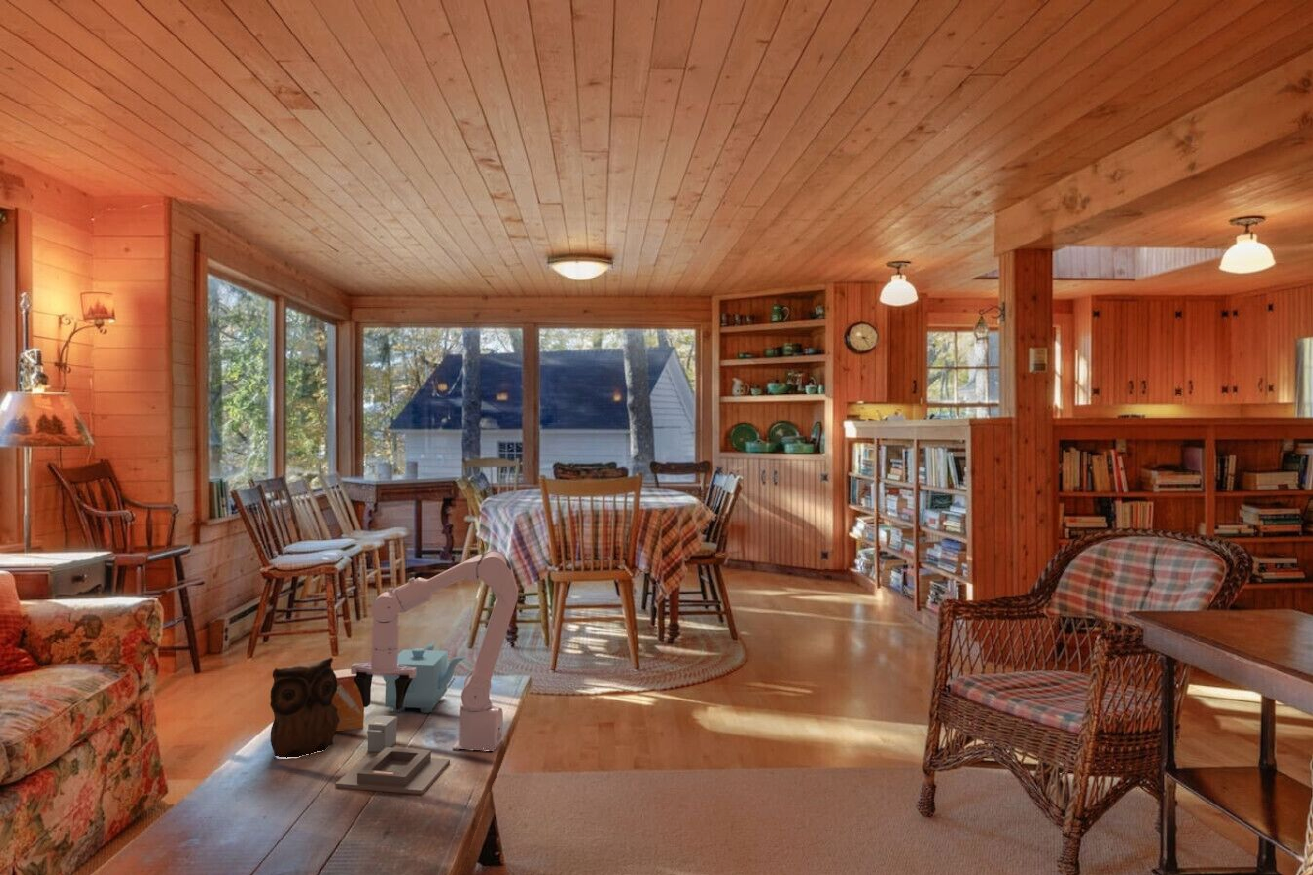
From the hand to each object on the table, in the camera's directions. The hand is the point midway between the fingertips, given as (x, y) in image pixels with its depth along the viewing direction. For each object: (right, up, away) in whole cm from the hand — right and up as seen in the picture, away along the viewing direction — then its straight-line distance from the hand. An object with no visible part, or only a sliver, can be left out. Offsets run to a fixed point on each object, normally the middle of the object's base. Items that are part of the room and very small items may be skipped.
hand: (382, 706), depth 192 cm
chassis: (+7, -9, -15) cm, 19 cm away
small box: (-13, -9, +11) cm, 19 cm away
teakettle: (0, -9, +29) cm, 31 cm away
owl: (-18, -9, -2) cm, 20 cm away
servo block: (0, -9, 0) cm, 9 cm away
